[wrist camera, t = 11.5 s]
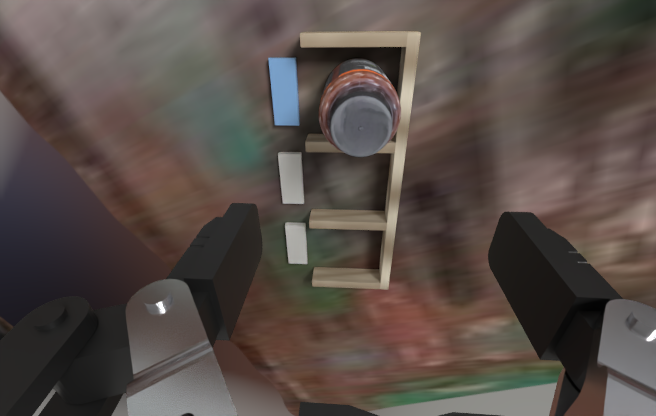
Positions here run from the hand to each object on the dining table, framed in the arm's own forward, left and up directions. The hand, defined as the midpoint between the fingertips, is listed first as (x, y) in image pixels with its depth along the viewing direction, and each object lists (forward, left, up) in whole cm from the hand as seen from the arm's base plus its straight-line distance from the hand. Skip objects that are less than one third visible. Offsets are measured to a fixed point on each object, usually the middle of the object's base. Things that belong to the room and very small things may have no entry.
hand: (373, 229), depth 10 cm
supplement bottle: (0, 0, -22) cm, 22 cm away
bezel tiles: (+9, -7, -22) cm, 25 cm away
